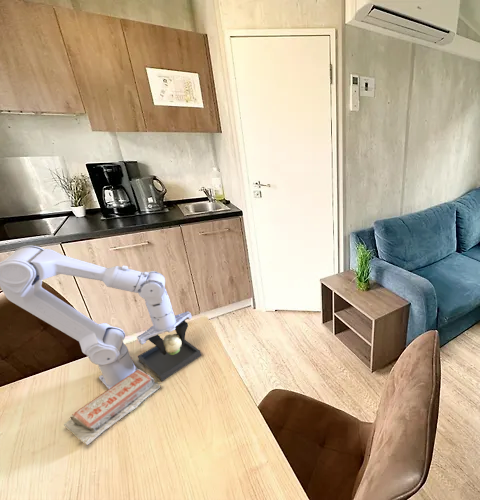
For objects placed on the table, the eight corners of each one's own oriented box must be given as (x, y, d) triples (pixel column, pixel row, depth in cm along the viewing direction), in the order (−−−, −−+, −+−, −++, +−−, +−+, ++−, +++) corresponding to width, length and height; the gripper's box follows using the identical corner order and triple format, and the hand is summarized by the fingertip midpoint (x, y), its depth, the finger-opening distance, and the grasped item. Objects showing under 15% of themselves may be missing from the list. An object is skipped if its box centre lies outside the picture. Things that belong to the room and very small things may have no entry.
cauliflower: (161, 352, 89) (156, 338, 86) (178, 343, 93) (173, 329, 90) (170, 359, 86) (165, 345, 84) (187, 349, 90) (182, 335, 88)
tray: (139, 360, 91) (137, 356, 90) (178, 338, 100) (176, 334, 100) (161, 381, 84) (159, 376, 83) (201, 355, 93) (200, 350, 92)
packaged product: (135, 364, 83) (157, 376, 80) (140, 376, 85) (161, 388, 82) (57, 416, 69) (79, 433, 65) (65, 429, 71) (87, 447, 67)
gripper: (140, 330, 76) (154, 368, 81) (192, 304, 87) (202, 339, 92) (128, 321, 79) (142, 358, 85) (180, 297, 90) (190, 331, 96)
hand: (172, 347), depth 89 cm, fingers closed on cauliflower, 5 cm apart
